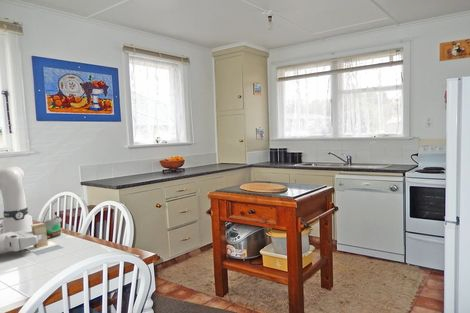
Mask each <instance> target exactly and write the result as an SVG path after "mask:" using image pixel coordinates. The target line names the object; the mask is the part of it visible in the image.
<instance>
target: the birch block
mask: <svg viewBox="0 0 470 313" xmlns="http://www.w3.org/2000/svg"><path fill="white" fill-rule="evenodd" d="M31 228H32V234H33V235H40V234H45V237H44V238H41V239H39V240H38V243H37V244H35V245H34V247H36V248H40V247H44V246H47V245H48V239H47V232H46V224H44V223H41V222H39V223H33V225H31Z"/></svg>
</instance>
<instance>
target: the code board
mask: <svg viewBox="0 0 470 313" xmlns="http://www.w3.org/2000/svg"><path fill="white" fill-rule="evenodd" d="M47 241H48V240H47ZM25 249H26V250H27V251H29V252H31V253H33V254H34V255H36V256H40V255H44V254H47V253H50V252H54V251H59V250H61V249H65V247H64V246H62V245H59V244H57V243H55V242H54V241H51V240H49V241H48V245H47V246H44V247H40V248H36V247H34V245H32V246H29V247H26V248H25Z"/></svg>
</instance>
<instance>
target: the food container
mask: <svg viewBox="0 0 470 313" xmlns="http://www.w3.org/2000/svg"><path fill="white" fill-rule="evenodd" d="M62 221H63V220H62V218H61V216H59V215H56V216H55V218H51V219H48V220H46V221H41V222H40V223H44V224H46V232H47V240H49V239H55V238H58V237H60V236H61V230H62V228H61V222H62Z"/></svg>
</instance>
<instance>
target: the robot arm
mask: <svg viewBox="0 0 470 313" xmlns="http://www.w3.org/2000/svg"><path fill="white" fill-rule="evenodd" d="M24 179H25V172H24V170H23V169H22V168H21V167H19V166H18V165H17V166H16V165H11V166H8V167H4V168H1V169H0V193H1V197H2V204H3V219H2V222H1V223H0V254H4V253H8V252H18V251H20V250H21V249H26V247H29V246H32V245H35V244H37V243H38V240H39V239H41V238H44V237H45V234H40V235H33V234H32V228H31V225H34V222H33V219H32V218H33V217H32V215H30V214H29V209H28V206H27V199H26V198H27V197H26V193H25V189H24V183H23V180H24Z"/></svg>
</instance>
